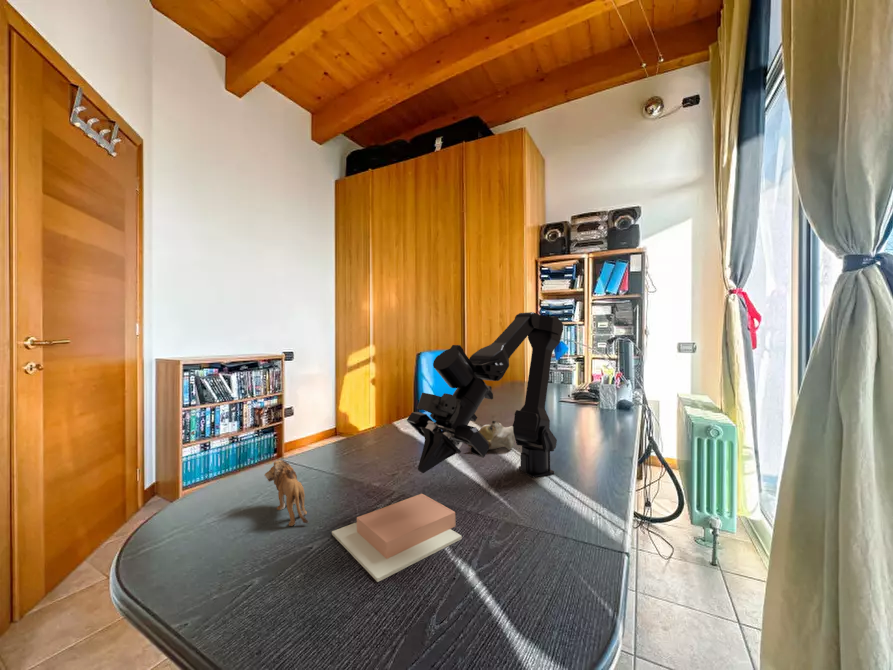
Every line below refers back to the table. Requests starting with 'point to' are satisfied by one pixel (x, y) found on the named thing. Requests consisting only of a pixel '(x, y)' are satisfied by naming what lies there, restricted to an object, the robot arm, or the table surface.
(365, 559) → the rubber mat
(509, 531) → the table surface
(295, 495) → the lion figurine
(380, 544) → the terracotta board
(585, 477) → the table surface
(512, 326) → the robot arm
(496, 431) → the ceramic sculpture
